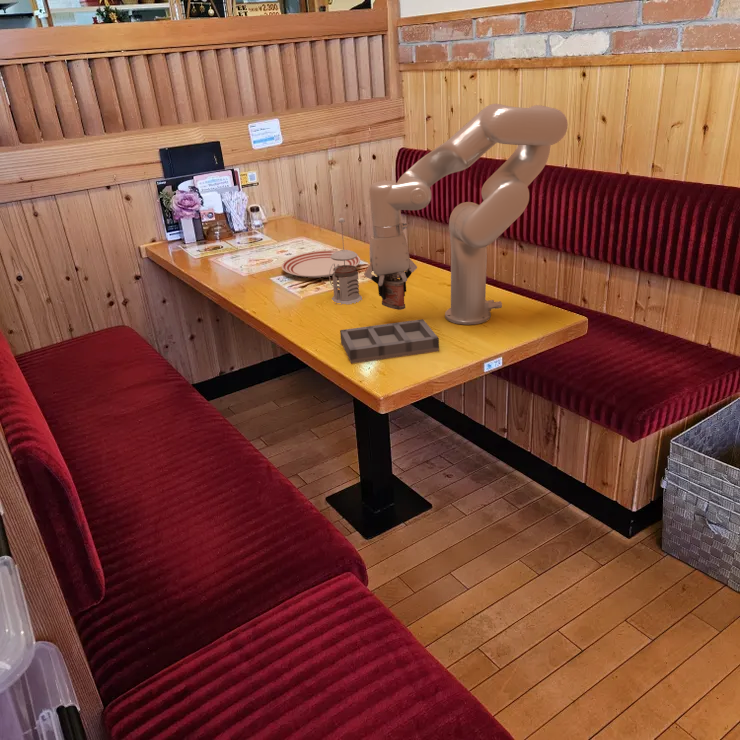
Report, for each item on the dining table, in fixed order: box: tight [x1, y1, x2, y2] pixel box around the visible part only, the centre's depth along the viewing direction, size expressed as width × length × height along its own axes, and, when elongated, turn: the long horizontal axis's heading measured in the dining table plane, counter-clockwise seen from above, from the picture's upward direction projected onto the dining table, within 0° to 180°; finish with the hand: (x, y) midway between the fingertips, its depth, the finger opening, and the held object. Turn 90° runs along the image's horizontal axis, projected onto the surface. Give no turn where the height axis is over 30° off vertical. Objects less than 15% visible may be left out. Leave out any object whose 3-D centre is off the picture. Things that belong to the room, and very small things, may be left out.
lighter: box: [381, 272, 406, 311], centre depth 181 cm, size 8×3×10 cm, turn 42°
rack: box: [339, 318, 440, 364], centre depth 171 cm, size 22×14×4 cm, turn 103°
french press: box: [328, 217, 363, 305], centre depth 200 cm, size 10×12×25 cm
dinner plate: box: [281, 249, 361, 279], centre depth 233 cm, size 28×27×3 cm
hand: (392, 295), depth 182 cm, fingers closed on lighter, 4 cm apart
